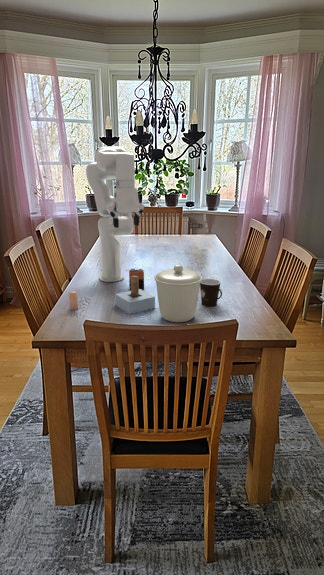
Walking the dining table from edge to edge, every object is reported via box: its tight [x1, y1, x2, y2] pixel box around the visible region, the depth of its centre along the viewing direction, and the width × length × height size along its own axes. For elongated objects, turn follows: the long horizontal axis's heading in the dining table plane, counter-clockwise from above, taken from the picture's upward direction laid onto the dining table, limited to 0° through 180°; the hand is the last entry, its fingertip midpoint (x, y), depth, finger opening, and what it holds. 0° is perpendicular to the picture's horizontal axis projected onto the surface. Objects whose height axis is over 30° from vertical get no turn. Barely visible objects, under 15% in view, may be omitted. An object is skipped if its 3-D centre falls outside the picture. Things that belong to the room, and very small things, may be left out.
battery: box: [128, 268, 145, 291], centre depth 185 cm, size 4×7×10 cm, turn 95°
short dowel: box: [68, 290, 79, 311], centre depth 162 cm, size 3×3×7 cm
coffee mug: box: [199, 278, 223, 308], centre depth 165 cm, size 12×9×10 cm
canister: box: [154, 264, 203, 323], centre depth 151 cm, size 18×18×21 cm
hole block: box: [114, 289, 156, 315], centre depth 164 cm, size 12×12×5 cm
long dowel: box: [131, 276, 139, 298], centre depth 163 cm, size 3×3×13 cm
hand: (126, 226), depth 168 cm, fingers open, 9 cm apart
